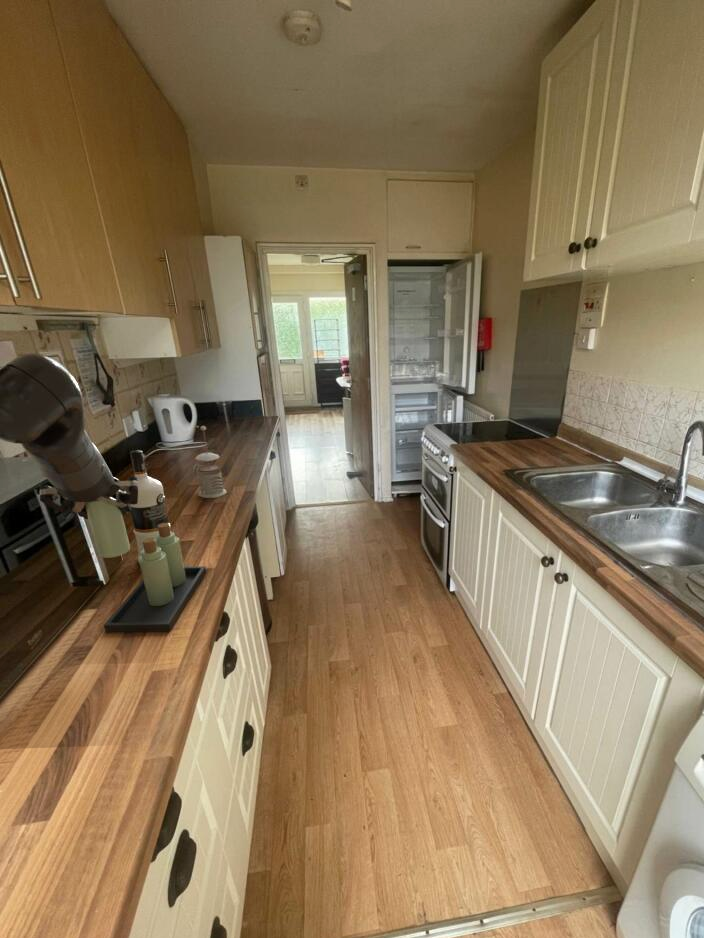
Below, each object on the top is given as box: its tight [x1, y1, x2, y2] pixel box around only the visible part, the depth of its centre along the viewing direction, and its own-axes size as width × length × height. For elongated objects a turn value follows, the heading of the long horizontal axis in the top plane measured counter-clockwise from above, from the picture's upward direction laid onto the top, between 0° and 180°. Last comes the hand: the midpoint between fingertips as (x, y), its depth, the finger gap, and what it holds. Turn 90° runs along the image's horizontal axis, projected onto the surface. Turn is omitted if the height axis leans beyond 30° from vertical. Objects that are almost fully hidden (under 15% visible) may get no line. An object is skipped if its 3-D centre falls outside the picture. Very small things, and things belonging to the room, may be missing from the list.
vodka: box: [124, 449, 172, 565], centre depth 106 cm, size 9×9×30 cm
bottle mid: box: [138, 538, 174, 606], centre depth 93 cm, size 5×5×15 cm
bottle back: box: [155, 522, 186, 587], centre depth 100 cm, size 5×5×15 cm
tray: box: [103, 565, 207, 634], centre depth 96 cm, size 13×23×2 cm, turn 3°
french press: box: [192, 425, 227, 499], centre depth 153 cm, size 10×12×25 cm
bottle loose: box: [84, 501, 131, 559], centre depth 76 cm, size 5×5×15 cm
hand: (106, 511), depth 78 cm, fingers closed on bottle loose, 5 cm apart
